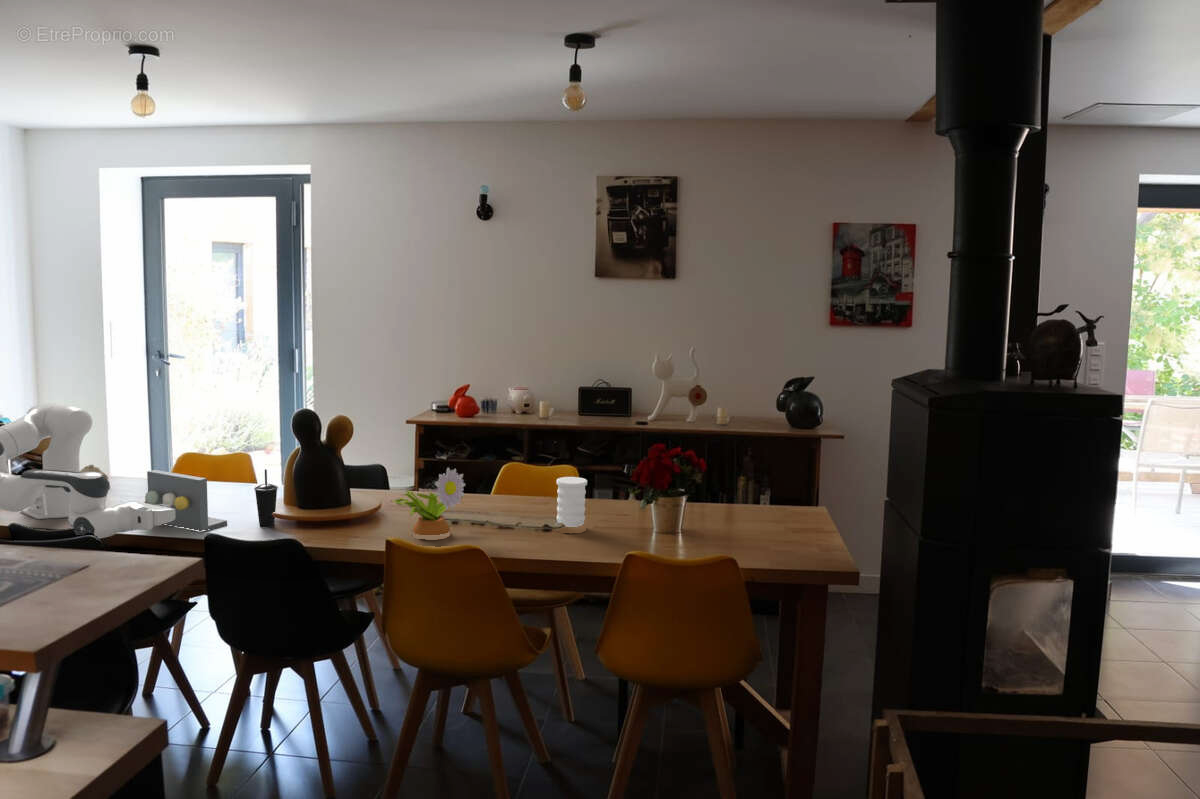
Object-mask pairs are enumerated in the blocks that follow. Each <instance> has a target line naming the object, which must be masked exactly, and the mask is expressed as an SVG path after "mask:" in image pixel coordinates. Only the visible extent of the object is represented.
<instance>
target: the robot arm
mask: <svg viewBox="0 0 1200 799" xmlns="http://www.w3.org/2000/svg"><path fill="white" fill-rule="evenodd" d="M27 410H28V411H27V412H26V413H25V415H23V416H21V417H20V418H18V419H16V420H14V421H11V422H9V423H6V424H4V425H1V426H0V510H1V511H5V512H11V513H18V512H21V513H23V514H24V515H27V516H30V517H32V518H34V519H37V520H41V519H43V520H44V519H59V518H67V521H68V525H70V527H71V528H73V532H74V534H75V535H76V536H77V535H84V534H86V533H92V534H94V535H95V536H97V537H98V538H99V539H103V538H107V537H112V536H114V535H116V534H119V533H120V534H121V533H122V534H123V533H127V532H130V531H131V532H133V531H137V530H140V531H141V530H142V531H149V530H152V529H153V528H154V527H158V526H163V525H162V524H165V523H168V522H171V521H173V520H175V518H176V513H175V509H173V508H171V506H170V505H167V504H161V505H152V504H148V503H147V502H141V501H136V500H134V501H133V500H132V501H127V502H124V503H120V504H116V505H114V506H112V507H106V504H107V498H108V497H107V496H108V493H109V490H110V489H109V485H110V480H109V479H108V480H107V478H106V477H105V476H104V475H103V474H101V473H98V472H80V471H81V468H80V450H81V445H82V443H83V442H82V441H83V440H84V437H85V436H86V435H87V434H89V432H90V430H91V429H92V427H93V418H92V415H91V414H90V413H89V412H88V411H86V410H84V409H82V408H79V407H78V406H73V405H66V404H65V405H64V404H57V403H55V404H54V403H42V404H36V405H33V406H31V407H30V408H29V409H27ZM46 438H50V441H49V445H48V447H47V449H45V450H44V451H43V452H42V455H41V456H42V469H37V468H35V469H29V470H25V471H23V472H22V474H21V475H16V474H15V475H14V474H12V473H11V474H10V473H9V465H8V463H7V461H9V460H12V459H14V458H17V457H19V456H22V455H23V454H26V453H28V452H30V451H32V450H34V449H37V448H38V447H39V445H40V442H41V441H43V440H44V439H46ZM110 486H111V485H110ZM108 489H109V490H108ZM74 529H75V530H74Z"/></svg>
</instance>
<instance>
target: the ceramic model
mask: <svg viewBox="0 0 1200 799" xmlns="http://www.w3.org/2000/svg"><path fill="white" fill-rule="evenodd" d="M80 472H98V473H101V474H103V475H104V476H105V477H106V478H107V480H108V481H109V477H108V475H107V474H106V473H105V472H104V471H103V470H101V469H100V468H99V467H97V466H95V465H94V464H89V465H86V466H84V468H82V469H80ZM110 489H111V485H109V489H108V491H109V490H110Z"/></svg>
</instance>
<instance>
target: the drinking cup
mask: <svg viewBox="0 0 1200 799" xmlns="http://www.w3.org/2000/svg"><path fill="white" fill-rule="evenodd" d="M253 490H254V491H255V492H254V493H255V499H256V508H257V517H258V525H259V527H260V528H262V527H269V528H271V527H270V526H273V527H274V526H275V523H276V521H275V520H276V516H275V517H274V516H272V515H271V514H272V513H273V512H275V513H276V509H277V496H278V495H277V494H278V490H279V487H278V486H277V485H274V484H272V483H268V469H266V468H265V469H264V483H262V484H259V485H257V486H255V487H254V488H253Z"/></svg>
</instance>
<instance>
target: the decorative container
mask: <svg viewBox="0 0 1200 799" xmlns="http://www.w3.org/2000/svg"><path fill="white" fill-rule="evenodd" d="M556 485H557V490H556V492H557V497H556V498H557V499H556V501H557V506H556V512H557V515H556V521H557V522H558V523H563V524H564V525H565V526H566V527H578V526H582V525H583V524H585V521H586V516H585V512H586V507H585V504H586V493H587V491H586V486H588V480H587V479H586V478H583V477H578V476H563V477H562V476H561V477H559V478H556ZM557 522H556V523H557Z"/></svg>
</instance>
